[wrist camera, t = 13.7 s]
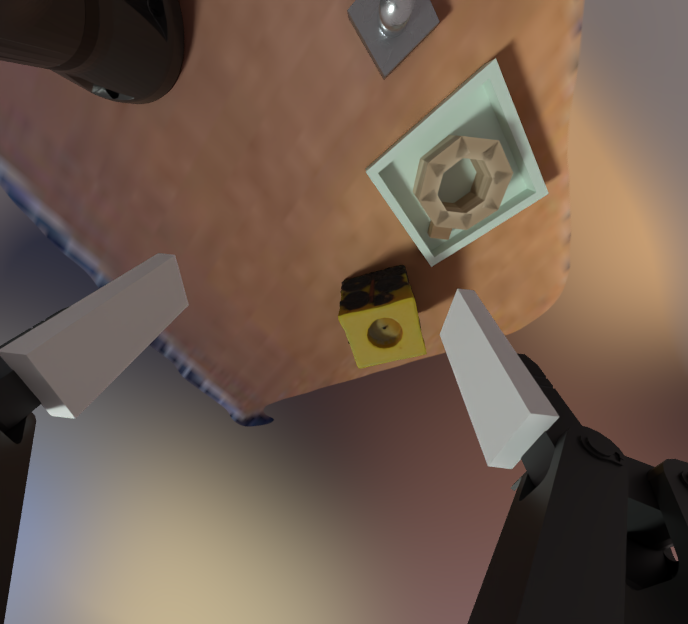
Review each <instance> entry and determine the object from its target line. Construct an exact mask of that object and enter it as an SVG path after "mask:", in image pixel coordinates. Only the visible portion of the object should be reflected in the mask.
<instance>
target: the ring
mask: <svg viewBox="0 0 688 624" xmlns="http://www.w3.org/2000/svg"><path fill="white" fill-rule="evenodd" d="M462 158H467V159H470V160H471V162H472V164H473V166H474V168H475V170H476V175H475V178H474V181H473V184H472V187H471V190H470V192H469V193H468V194H466V195H465V196H463V197H462V198H460V199H459V200H458V201H456V202H455V203H448V202H441V200H440V199H439V197H438V191H439V187H440V184H441V180H442V176H443V173H444V172H445V171H447V170H448V169H449V168H451V167H452V166H453V165H455V164H456V163H457V162H458V161H460V160H461V159H462ZM512 175H513V171H512V169H511V167H510V164H509V162H508V160H507V158H506V155H505V153H504V151H503V148H502V146H501V144H500V142H499V140H491V139H483V138H475V137H466V136H456V135H448V136H447V137H446V138H444V139H443V140H442V141H441V142H439V143H438V144H437V145H436V146H434V147H433V148H432V149H431V150H430V151H428V152H427V153H426V154H425V155H423V156H422V157H421V158H420V161H419V165H418V169H417V174H416V178H415V183H414V187H413V193H414V195H415V196H416V198H417V199H418V201H419V203H420V204H421V206H422V207H423V209H424V211H425V212H426V214H427V215H428V217H429V218H430V219H431V221H430V225H429V228H428V232H427V233H428V235H429V237H430V238H436V239H445V240H449V237H450V234H451V231H452V228H453V229H462V230H468V229H469V228H471V227H472V226H474V225H475V224H477V223H479V222H480V221H482V220H483V219H485V218H486V217H488V216H489V215H491V214H492V213H494V212H496V211H497V210H498V209H499V207H500V204H501V202H502V199H503V197H504V195H505V192H506V190H507V187H508V185H509V182H510V180H511V177H512Z"/></svg>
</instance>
